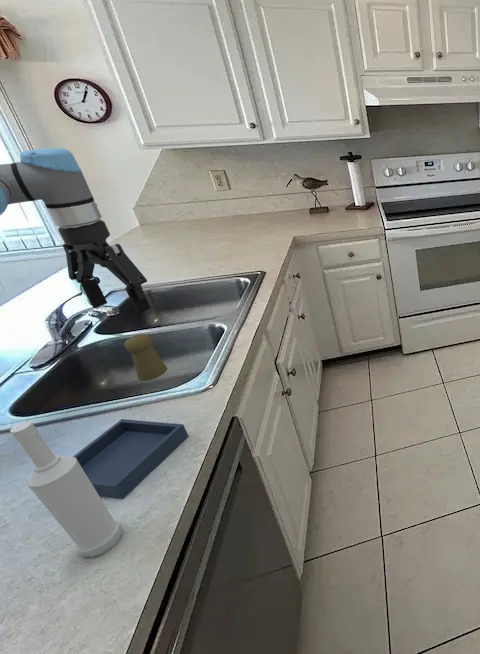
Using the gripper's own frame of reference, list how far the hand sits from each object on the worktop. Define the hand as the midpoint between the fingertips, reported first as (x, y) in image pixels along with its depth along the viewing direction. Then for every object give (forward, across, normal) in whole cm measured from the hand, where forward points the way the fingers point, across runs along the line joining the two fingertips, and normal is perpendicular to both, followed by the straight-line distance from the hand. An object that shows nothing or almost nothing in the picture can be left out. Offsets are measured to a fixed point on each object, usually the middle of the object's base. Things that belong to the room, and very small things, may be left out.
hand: (122, 308), depth 98 cm
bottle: (+19, -36, +37) cm, 55 cm away
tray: (+19, -23, +24) cm, 38 cm away
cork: (+19, 0, 0) cm, 19 cm away
